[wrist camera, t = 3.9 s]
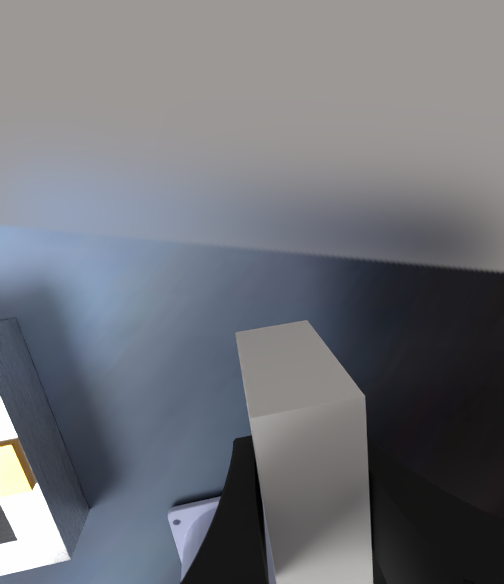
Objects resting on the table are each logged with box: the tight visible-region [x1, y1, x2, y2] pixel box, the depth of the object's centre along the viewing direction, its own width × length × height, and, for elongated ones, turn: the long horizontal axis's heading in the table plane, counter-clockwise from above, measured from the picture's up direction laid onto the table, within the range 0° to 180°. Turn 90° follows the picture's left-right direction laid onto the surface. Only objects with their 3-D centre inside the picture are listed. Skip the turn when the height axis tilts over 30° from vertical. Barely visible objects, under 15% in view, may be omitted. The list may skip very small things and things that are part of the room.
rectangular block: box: [235, 320, 373, 584], centre depth 12 cm, size 8×3×6 cm, turn 8°
